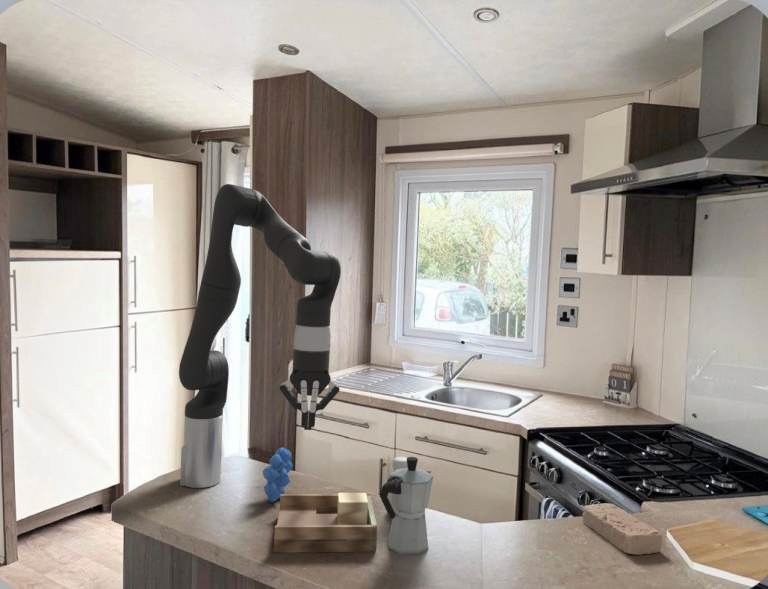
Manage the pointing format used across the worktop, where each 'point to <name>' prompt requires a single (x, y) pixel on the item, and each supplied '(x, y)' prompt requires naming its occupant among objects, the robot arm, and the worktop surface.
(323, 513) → the box
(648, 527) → the brick
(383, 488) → the coffee maker
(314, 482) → the worktop surface
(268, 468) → the grapes
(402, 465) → the salt shaker
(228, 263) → the robot arm
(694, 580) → the worktop surface
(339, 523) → the birch block
